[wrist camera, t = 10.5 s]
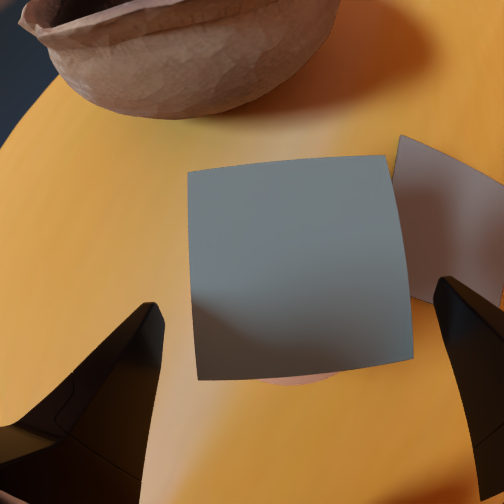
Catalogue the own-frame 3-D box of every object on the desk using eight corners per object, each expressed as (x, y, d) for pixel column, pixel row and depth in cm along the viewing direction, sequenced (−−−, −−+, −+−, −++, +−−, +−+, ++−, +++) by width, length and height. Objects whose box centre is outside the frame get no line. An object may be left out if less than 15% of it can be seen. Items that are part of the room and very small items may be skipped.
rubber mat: (492, 325, 18) (494, 325, 17) (366, 280, 20) (368, 280, 19) (509, 192, 19) (511, 190, 19) (399, 137, 21) (401, 134, 21)
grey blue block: (350, 333, 18) (413, 358, 8) (240, 343, 19) (197, 380, 9) (339, 226, 20) (385, 155, 10) (233, 235, 20) (187, 172, 10)
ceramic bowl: (85, 76, 26) (17, -8, 12) (242, -12, 27) (224, -107, 12) (167, 221, 22) (23, 109, 7) (381, 84, 22) (425, -53, 8)
